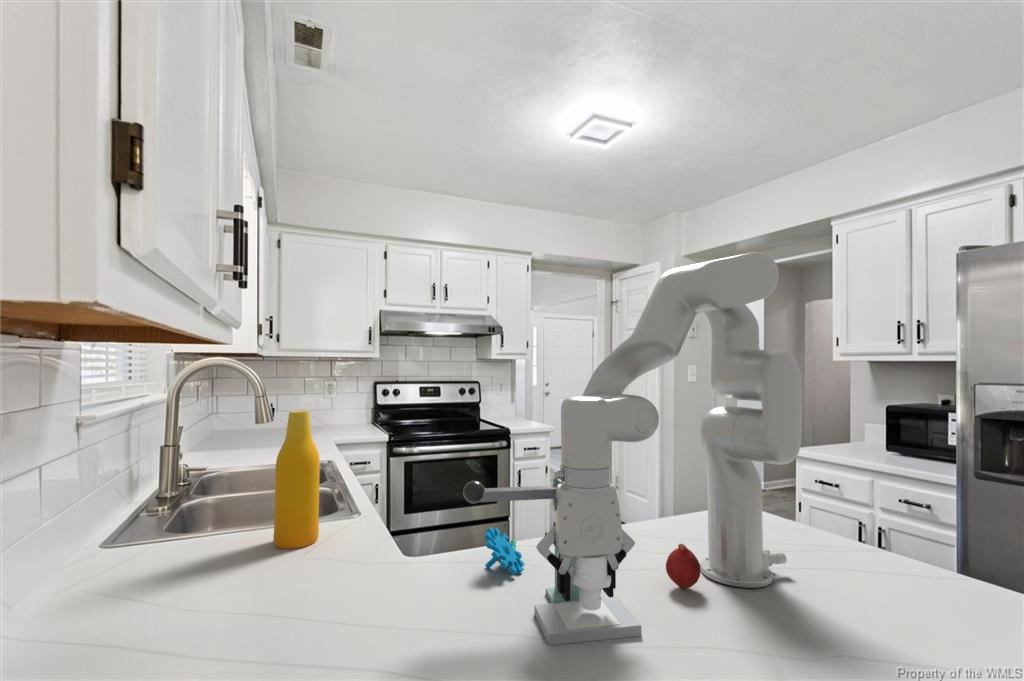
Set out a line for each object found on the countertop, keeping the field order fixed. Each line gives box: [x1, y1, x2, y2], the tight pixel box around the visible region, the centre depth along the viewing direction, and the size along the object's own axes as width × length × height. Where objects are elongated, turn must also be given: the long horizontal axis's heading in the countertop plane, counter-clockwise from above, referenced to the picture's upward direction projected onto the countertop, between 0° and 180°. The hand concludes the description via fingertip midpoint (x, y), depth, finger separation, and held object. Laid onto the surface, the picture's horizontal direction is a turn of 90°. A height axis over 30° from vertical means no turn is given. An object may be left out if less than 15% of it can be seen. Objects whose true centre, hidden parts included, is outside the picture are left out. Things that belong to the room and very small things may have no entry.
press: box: [533, 478, 642, 646], centre depth 80 cm, size 14×16×20 cm
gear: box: [483, 527, 525, 575], centre depth 98 cm, size 11×6×10 cm
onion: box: [665, 542, 702, 591], centre depth 89 cm, size 6×6×8 cm
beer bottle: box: [273, 410, 321, 550], centre depth 112 cm, size 9×9×29 cm
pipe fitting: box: [569, 555, 611, 610], centre depth 77 cm, size 6×7×8 cm
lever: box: [462, 480, 558, 504], centre depth 84 cm, size 20×4×4 cm, turn 101°
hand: (586, 594), depth 77 cm, fingers closed on pipe fitting, 6 cm apart
